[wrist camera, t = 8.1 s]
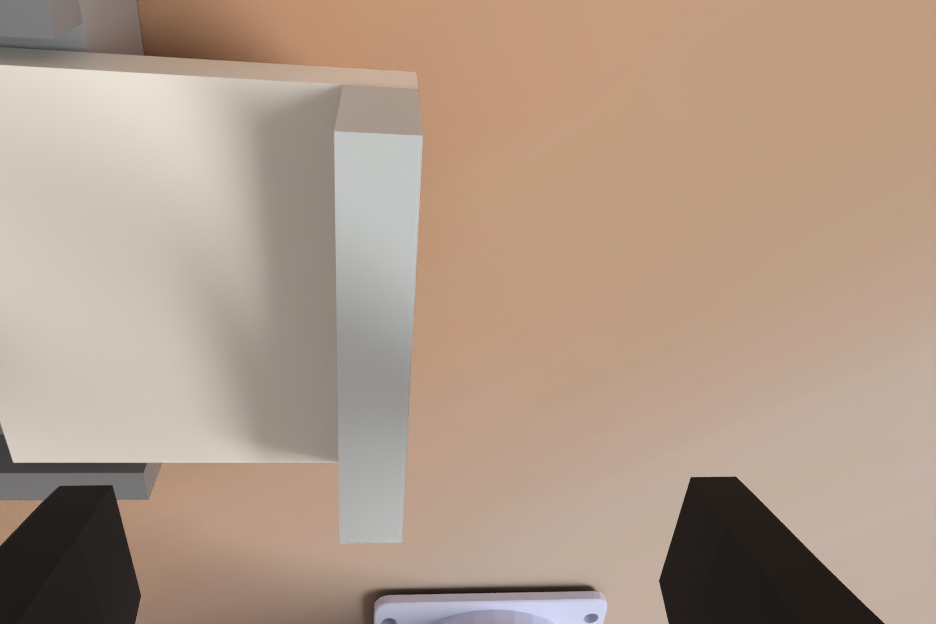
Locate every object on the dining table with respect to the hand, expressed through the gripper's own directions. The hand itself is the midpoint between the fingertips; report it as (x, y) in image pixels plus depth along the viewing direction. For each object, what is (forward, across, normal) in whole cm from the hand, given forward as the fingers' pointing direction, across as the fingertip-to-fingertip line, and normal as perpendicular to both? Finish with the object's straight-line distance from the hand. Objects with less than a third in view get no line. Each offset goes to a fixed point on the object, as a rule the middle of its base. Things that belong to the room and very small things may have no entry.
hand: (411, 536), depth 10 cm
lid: (+7, +4, 0) cm, 8 cm away
